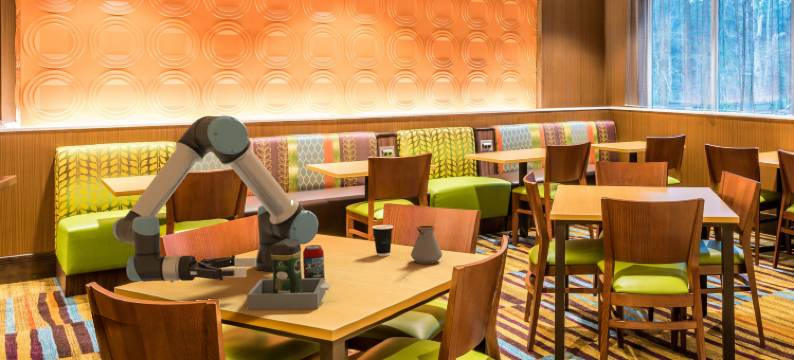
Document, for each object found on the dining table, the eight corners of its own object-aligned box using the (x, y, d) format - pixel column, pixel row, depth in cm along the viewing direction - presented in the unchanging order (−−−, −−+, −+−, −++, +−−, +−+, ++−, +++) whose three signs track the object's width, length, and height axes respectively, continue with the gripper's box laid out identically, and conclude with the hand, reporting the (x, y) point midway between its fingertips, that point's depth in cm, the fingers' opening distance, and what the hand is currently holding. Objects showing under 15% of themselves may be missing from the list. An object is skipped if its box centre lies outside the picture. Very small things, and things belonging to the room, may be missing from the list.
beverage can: (308, 286, 243) (307, 249, 242) (301, 281, 249) (299, 246, 248) (327, 283, 247) (326, 247, 245) (320, 278, 252) (318, 243, 251)
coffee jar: (283, 296, 232) (280, 236, 230) (306, 297, 230) (304, 237, 228) (268, 304, 223) (266, 242, 221) (293, 306, 220) (290, 243, 218)
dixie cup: (386, 257, 283) (385, 229, 281) (369, 255, 287) (368, 227, 286) (397, 253, 289) (396, 225, 288) (380, 252, 294) (379, 224, 292)
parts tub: (260, 293, 236) (260, 279, 235) (333, 292, 235) (332, 278, 235) (247, 310, 217) (246, 294, 217) (326, 308, 217) (325, 293, 216)
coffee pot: (414, 258, 281) (413, 218, 280) (444, 258, 279) (443, 218, 277) (402, 271, 261) (401, 228, 259) (435, 272, 258) (434, 229, 256)
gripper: (193, 270, 239) (260, 269, 238) (167, 291, 214) (241, 289, 213) (192, 247, 238) (259, 246, 237) (166, 265, 213) (240, 263, 213)
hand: (251, 267), depth 225 cm, fingers open, 13 cm apart
